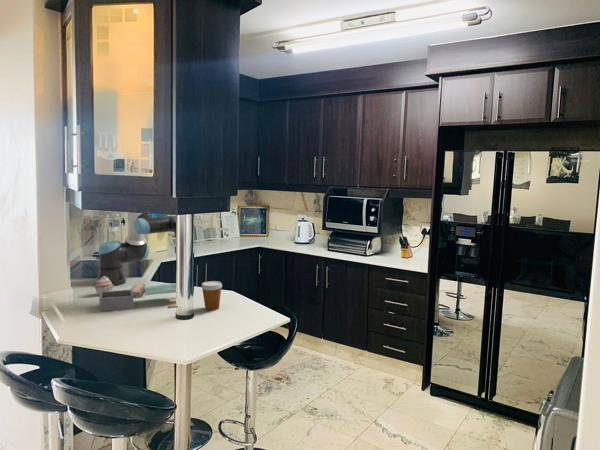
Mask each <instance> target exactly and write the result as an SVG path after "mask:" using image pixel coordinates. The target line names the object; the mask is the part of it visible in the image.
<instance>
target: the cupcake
mask: <svg viewBox="0 0 600 450" xmlns="http://www.w3.org/2000/svg"><path fill="white" fill-rule="evenodd" d="M93 288H94V289H95V291H96V293H97V296H98V297H100V292H109V291H113V288H114V285H112V282H111V281H110V280H109V278H107V277H105V276H103V277H101V279H100V280H98V281H97V280H96V284H95V286H94V287H93Z"/></svg>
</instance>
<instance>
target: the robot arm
mask: <svg viewBox="0 0 600 450" xmlns="http://www.w3.org/2000/svg"><path fill="white" fill-rule="evenodd" d="M129 215H130V220H129V228H128V229H129V230H128V236H126V237H125V238H124V242H121V240H110V241H109V240H108V241H105V242H103V243H101V244H99V246H98V253H97V254H98V262H99V264H98V265H99V272H98V275H97V278H96V282H97V281H98V280H100V279H101V277H103V276H105V277H107V278H109V280H110V281H111V282H112V285H114V286H120V285H124V284H125V283H126V282H127V281H126V280H127V279H126V276H125V274H124V273H125V272H124V271H123V264H129V263H134V262H143V261H145V260H146V259H147V258H148V257H149V253H150V245H149V243H148V242H147V239H146V238H145V235H149V234H159V233H160V234H161V233H170V232H171V233H172V232H173V233H174V239H173V242H174V245H175V246H174V253H175V255H177V254H176V216H174V215H165V216H157V217H152V215H150V213H149V214H142V213H129ZM114 286H113V287H114Z"/></svg>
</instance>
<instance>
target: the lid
mask: <svg viewBox="0 0 600 450" xmlns="http://www.w3.org/2000/svg"><path fill="white" fill-rule="evenodd" d="M176 284H177V283H165V284H154V285H146V286H144V289H145V293H146V296H150V295H162V294H163V295H164V294H175V293H177V292H176Z"/></svg>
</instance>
